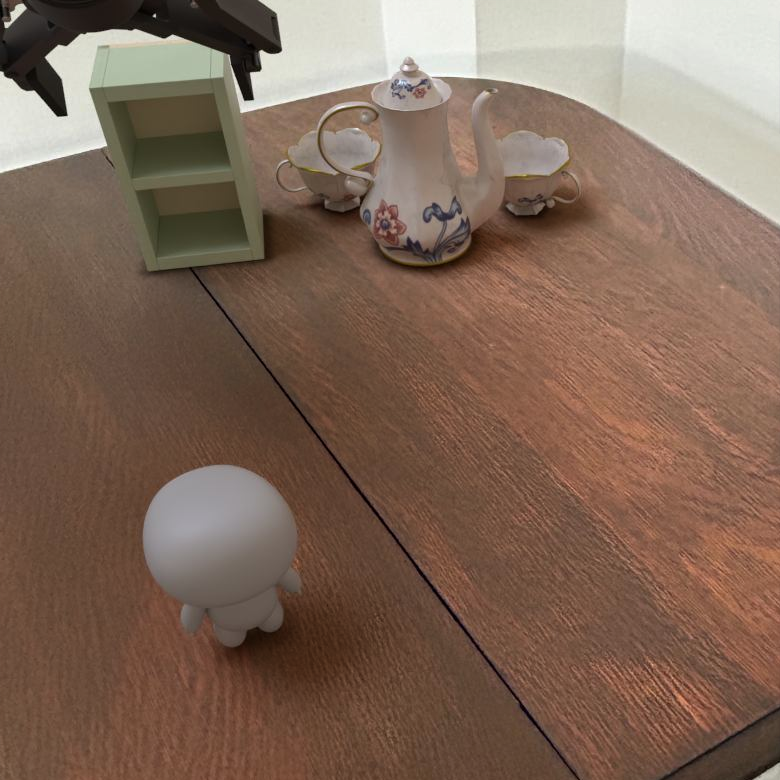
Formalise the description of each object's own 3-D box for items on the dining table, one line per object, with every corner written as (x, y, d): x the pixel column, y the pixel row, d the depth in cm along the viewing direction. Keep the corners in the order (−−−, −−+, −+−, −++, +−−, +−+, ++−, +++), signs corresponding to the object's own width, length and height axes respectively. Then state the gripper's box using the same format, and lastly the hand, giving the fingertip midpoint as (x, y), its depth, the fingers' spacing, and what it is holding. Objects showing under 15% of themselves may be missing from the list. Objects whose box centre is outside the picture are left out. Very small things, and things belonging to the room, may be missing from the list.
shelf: (97, 45, 83) (88, 87, 77) (224, 35, 84) (223, 76, 79) (152, 224, 94) (148, 271, 89) (262, 213, 96) (264, 259, 90)
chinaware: (573, 192, 101) (576, 9, 90) (588, 270, 89) (594, 69, 78) (289, 199, 100) (257, 15, 89) (263, 280, 88) (223, 77, 77)
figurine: (294, 568, 66) (256, 428, 57) (337, 651, 61) (304, 513, 53) (171, 616, 63) (111, 476, 54) (206, 706, 59) (148, 570, 50)
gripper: (285, -149, 57) (314, 26, 78) (-195, -124, 54) (-30, 53, 75) (306, -13, 58) (329, 125, 79) (-170, 21, 54) (-13, 156, 75)
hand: (154, 90), depth 77 cm, fingers open, 13 cm apart
